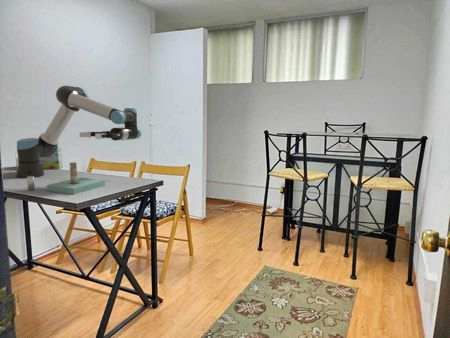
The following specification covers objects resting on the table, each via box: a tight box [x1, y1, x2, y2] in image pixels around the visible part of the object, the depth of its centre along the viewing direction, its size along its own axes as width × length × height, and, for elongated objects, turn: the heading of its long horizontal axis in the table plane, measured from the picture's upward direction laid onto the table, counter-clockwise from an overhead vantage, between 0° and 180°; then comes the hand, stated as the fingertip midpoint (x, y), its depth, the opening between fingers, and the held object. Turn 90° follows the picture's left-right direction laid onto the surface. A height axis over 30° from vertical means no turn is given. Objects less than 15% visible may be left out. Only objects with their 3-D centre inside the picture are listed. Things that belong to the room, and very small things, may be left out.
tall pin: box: [69, 162, 78, 185], centre depth 169 cm, size 3×3×14 cm
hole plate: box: [46, 177, 106, 195], centre depth 171 cm, size 18×22×3 cm
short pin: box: [26, 176, 36, 191], centre depth 165 cm, size 3×3×7 cm
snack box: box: [40, 147, 63, 170], centre depth 227 cm, size 21×6×15 cm, turn 90°
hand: (87, 135), depth 173 cm, fingers open, 13 cm apart
